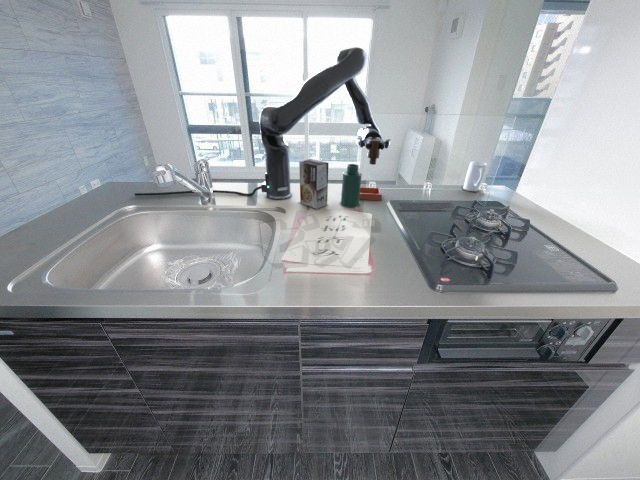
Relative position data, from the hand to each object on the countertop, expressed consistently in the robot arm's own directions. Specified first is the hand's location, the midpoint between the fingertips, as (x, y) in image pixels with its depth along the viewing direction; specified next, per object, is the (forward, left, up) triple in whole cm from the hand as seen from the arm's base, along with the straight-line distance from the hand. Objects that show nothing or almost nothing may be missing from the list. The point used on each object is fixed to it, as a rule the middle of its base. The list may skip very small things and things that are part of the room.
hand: (375, 146), depth 99 cm
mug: (+48, +18, -21) cm, 55 cm away
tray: (0, +3, -20) cm, 21 cm away
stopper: (0, +3, -7) cm, 7 cm away
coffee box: (-22, -9, -21) cm, 32 cm away
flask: (-8, -7, -20) cm, 23 cm away
